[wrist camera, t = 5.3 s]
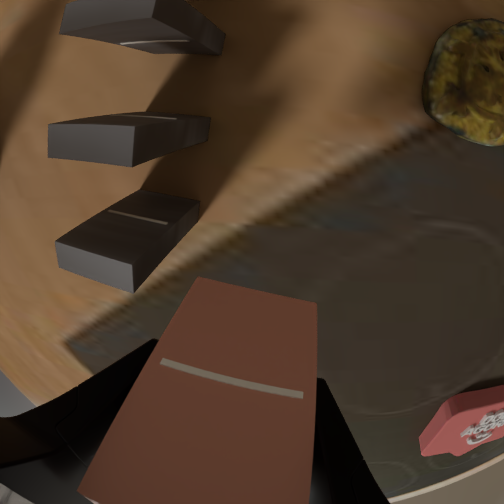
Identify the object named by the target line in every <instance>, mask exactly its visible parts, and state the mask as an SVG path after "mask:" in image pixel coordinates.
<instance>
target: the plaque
mask: <svg viewBox="0 0 504 504" xmlns="http://www.w3.org/2000/svg"><path fill="white" fill-rule="evenodd" d="M503 436H504V385H500V386H496V387H491V388H486V389H481V390H476V391H471V392H465V393H460V394H457V395H454V396H452V397H451V398H449V399H448V400H446V401H445V402H444V403H443V404H442V406H441V407H440V408H439V410H438V411H437V413H436V414H435V416H434V417H433V419H432V420H431V421H430V423H429V424H428V426H427V427H426V428H425V430H424V431H423V432H422V434H421V435H420V437H419V441H420V448H421V454H422V455H423V456H430V455H436V454H442V453H447V452H450V453H452V454H453V455H455V456H460V455H462V454H464V453H466V452H468V451H470V450H472V449H474V448H475V447H477V446H479V445H481V444H483V443H486V442H489V441H492V440H496V439H498V438H501V437H503Z"/></svg>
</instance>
